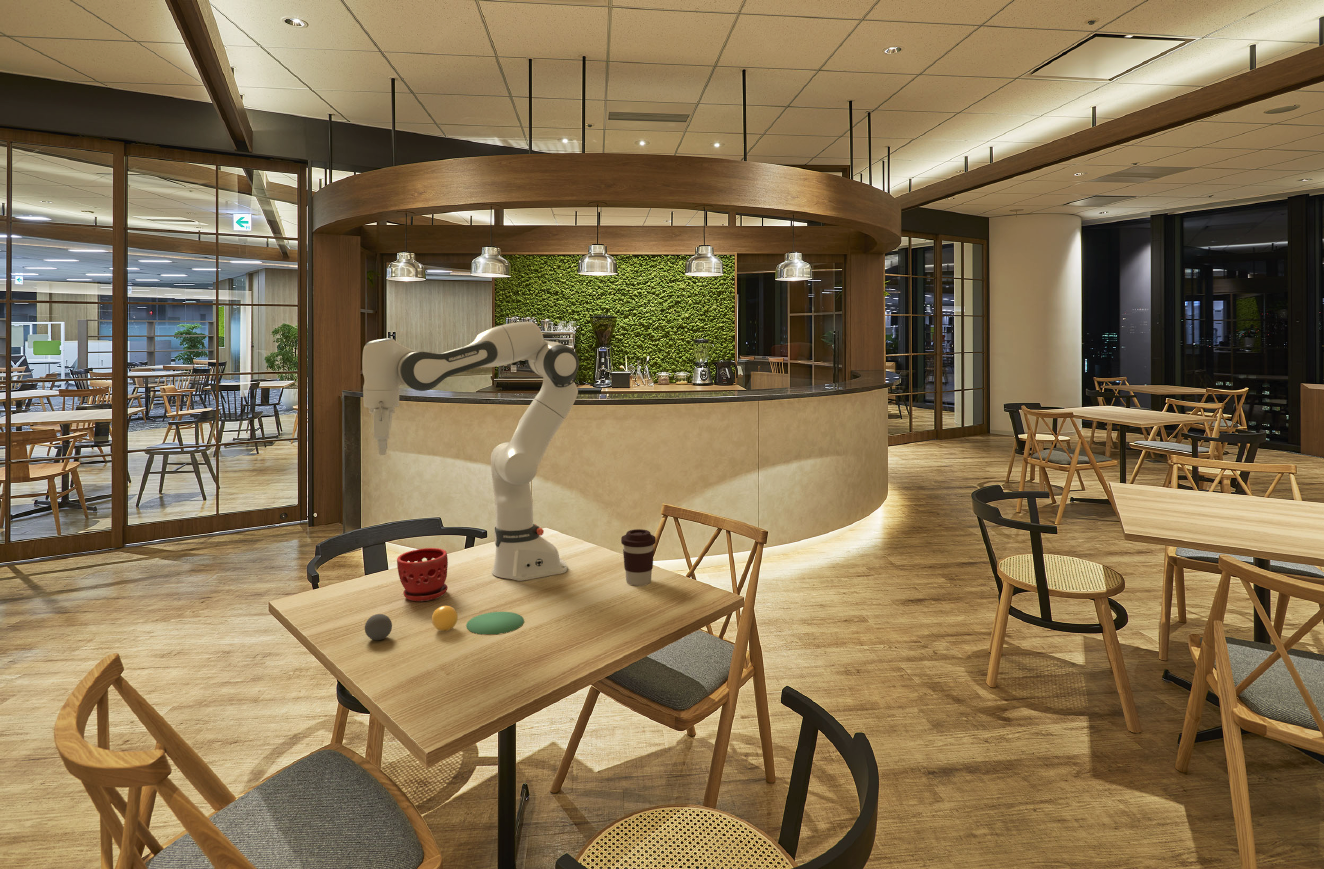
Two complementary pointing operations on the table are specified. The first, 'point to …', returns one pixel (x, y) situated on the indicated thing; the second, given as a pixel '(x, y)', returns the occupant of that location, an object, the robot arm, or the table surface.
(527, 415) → the robot arm
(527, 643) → the table surface
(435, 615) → the orange ball
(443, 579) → the plant pot
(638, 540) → the coffee cup
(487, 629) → the green mark
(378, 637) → the dark grey sphere
